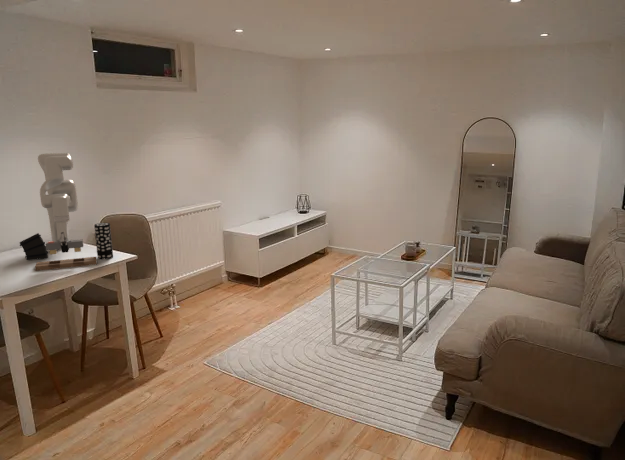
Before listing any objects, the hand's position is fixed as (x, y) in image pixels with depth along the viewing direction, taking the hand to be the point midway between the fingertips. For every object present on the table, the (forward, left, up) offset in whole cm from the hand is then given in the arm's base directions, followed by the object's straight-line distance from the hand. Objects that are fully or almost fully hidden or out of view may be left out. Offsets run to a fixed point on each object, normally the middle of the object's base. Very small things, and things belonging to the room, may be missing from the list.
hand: (65, 250), depth 265 cm
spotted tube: (-9, +20, -9) cm, 23 cm away
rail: (0, 0, -9) cm, 9 cm away
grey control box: (0, 0, -1) cm, 1 cm away
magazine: (-21, -18, -9) cm, 29 cm away
